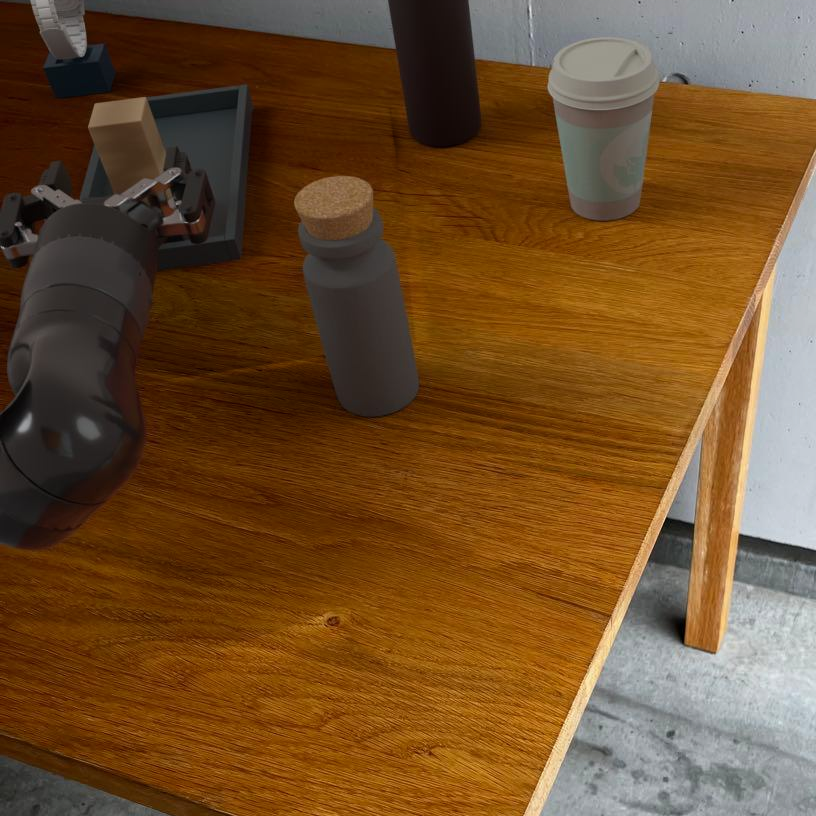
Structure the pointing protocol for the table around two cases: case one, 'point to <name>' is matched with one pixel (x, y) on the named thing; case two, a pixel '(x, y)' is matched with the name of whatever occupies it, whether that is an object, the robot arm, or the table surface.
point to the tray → (200, 165)
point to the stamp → (129, 145)
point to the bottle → (356, 297)
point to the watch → (71, 50)
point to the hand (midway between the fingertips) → (119, 165)
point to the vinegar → (437, 69)
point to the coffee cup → (604, 122)
